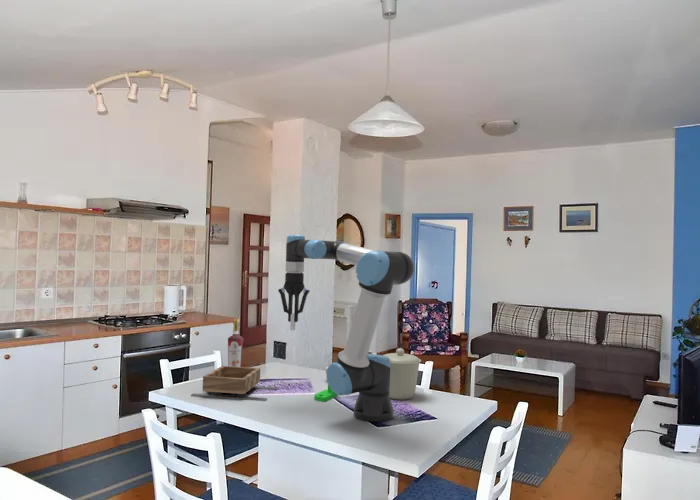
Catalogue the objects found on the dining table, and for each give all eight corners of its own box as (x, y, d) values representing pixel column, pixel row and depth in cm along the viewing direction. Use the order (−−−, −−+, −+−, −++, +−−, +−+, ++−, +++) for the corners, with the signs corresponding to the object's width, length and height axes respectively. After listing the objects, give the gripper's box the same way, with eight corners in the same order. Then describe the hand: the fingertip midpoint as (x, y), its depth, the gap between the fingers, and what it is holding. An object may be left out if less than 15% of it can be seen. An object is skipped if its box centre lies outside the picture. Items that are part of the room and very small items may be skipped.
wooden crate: (244, 398, 213) (245, 379, 213) (202, 395, 215) (203, 376, 216) (259, 385, 235) (260, 368, 235) (221, 382, 237) (222, 365, 237)
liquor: (242, 375, 256) (244, 318, 256) (240, 379, 249) (242, 320, 249) (227, 375, 255) (229, 318, 256) (225, 379, 248) (227, 320, 248)
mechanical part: (325, 394, 228) (325, 375, 228) (337, 396, 225) (338, 377, 225) (311, 400, 217) (312, 381, 217) (324, 402, 214) (325, 383, 214)
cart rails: (265, 400, 213) (265, 399, 213) (190, 396, 217) (190, 394, 217) (278, 388, 233) (278, 387, 233) (209, 384, 237) (209, 383, 237)
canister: (384, 389, 238) (385, 343, 238) (423, 394, 232) (425, 347, 232) (372, 399, 221) (374, 349, 221) (414, 404, 215) (416, 353, 215)
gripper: (311, 272, 217) (310, 329, 217) (281, 271, 218) (279, 327, 218) (308, 273, 210) (306, 331, 209) (276, 272, 211) (274, 330, 211)
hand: (292, 329), depth 214 cm, fingers closed
